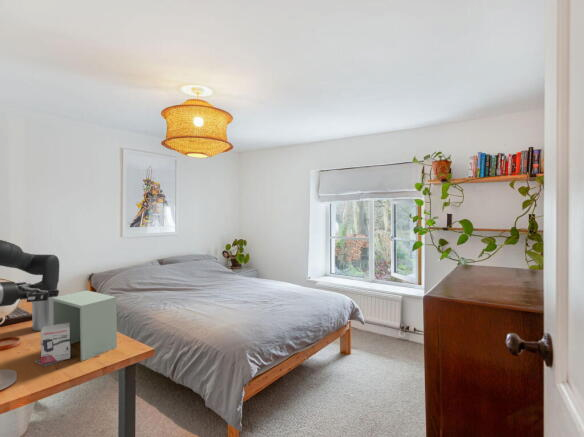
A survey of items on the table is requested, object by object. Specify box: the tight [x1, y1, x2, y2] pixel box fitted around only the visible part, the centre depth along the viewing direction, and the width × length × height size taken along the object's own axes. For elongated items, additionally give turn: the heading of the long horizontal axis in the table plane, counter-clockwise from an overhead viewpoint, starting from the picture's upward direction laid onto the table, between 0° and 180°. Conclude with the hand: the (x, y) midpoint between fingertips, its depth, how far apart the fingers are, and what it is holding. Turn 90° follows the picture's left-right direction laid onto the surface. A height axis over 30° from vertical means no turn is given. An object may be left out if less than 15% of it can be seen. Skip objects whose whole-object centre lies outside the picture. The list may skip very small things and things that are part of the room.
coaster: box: [35, 358, 66, 368], centre depth 116 cm, size 7×7×1 cm
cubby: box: [52, 290, 118, 362], centre depth 126 cm, size 20×13×20 cm, turn 61°
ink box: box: [40, 323, 72, 365], centre depth 117 cm, size 8×5×12 cm, turn 124°
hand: (50, 289), depth 115 cm, fingers open, 8 cm apart
